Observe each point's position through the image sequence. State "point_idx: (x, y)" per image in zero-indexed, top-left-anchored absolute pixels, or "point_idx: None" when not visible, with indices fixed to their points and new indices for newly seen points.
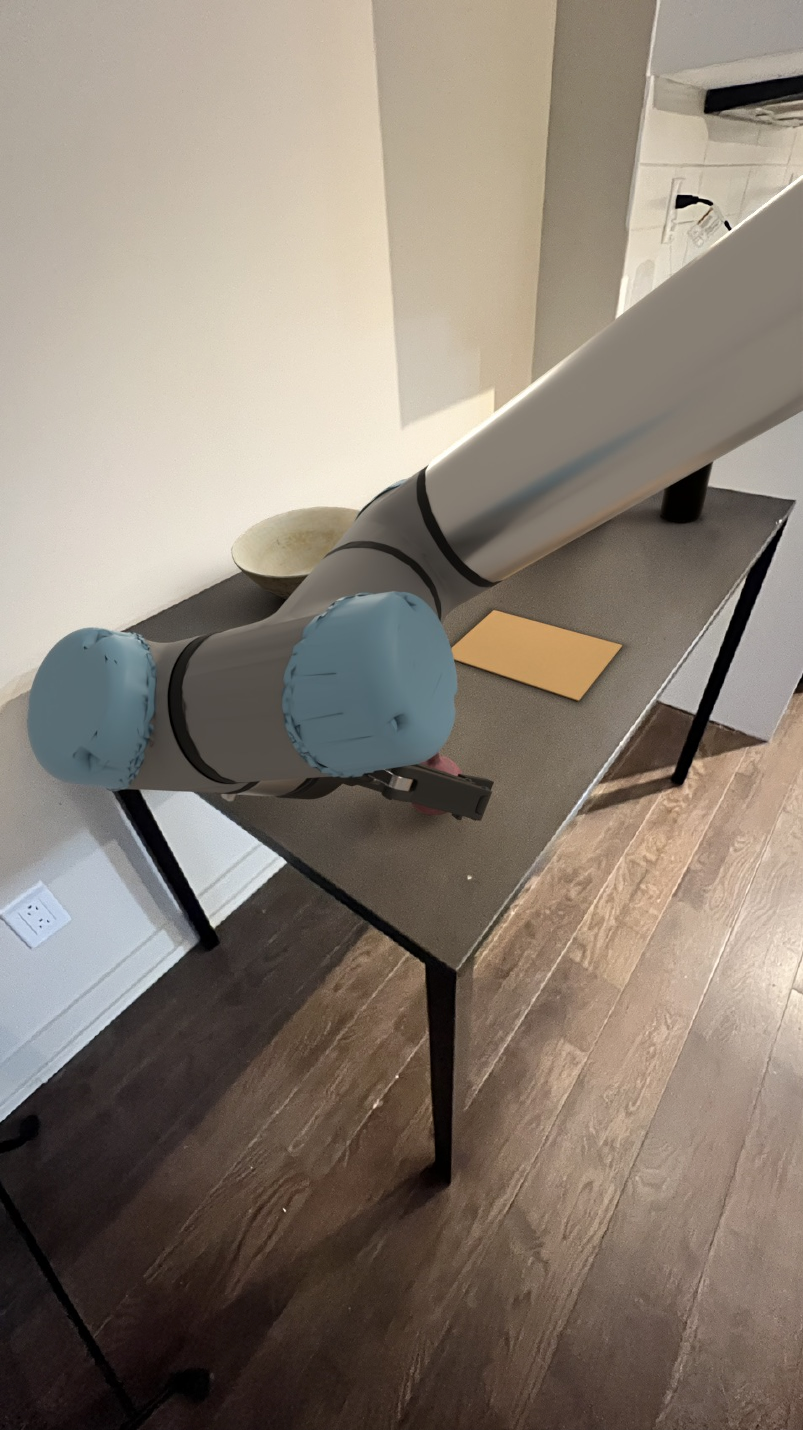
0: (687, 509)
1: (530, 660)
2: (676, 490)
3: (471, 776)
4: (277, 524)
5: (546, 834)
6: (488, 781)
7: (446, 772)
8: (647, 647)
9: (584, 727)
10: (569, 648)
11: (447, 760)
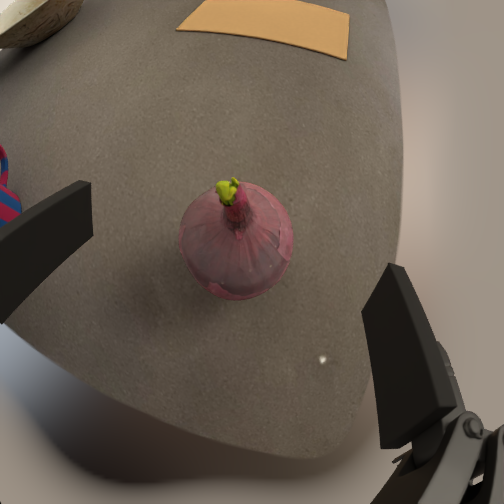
0: None
1: (275, 22)
2: None
3: (423, 339)
4: (19, 2)
5: (392, 255)
6: (412, 288)
7: (436, 467)
8: (368, 19)
9: (367, 90)
10: (307, 13)
11: (258, 196)
